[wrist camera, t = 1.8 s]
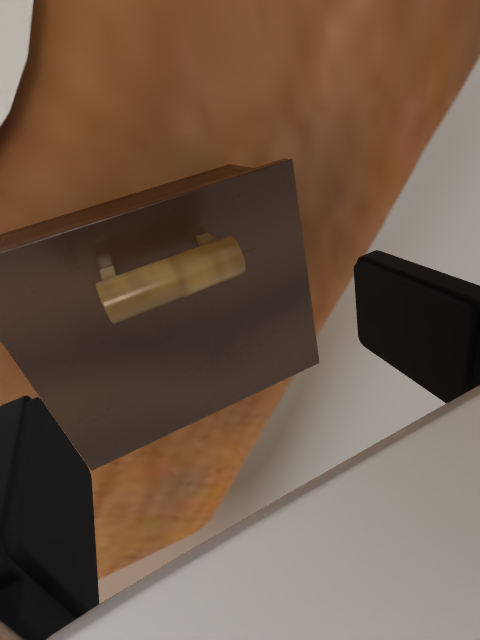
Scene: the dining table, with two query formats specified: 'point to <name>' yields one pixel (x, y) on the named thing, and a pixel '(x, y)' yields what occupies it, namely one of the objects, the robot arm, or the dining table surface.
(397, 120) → the dining table surface
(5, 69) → the plated food
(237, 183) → the lid
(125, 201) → the chest
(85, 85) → the dining table surface
